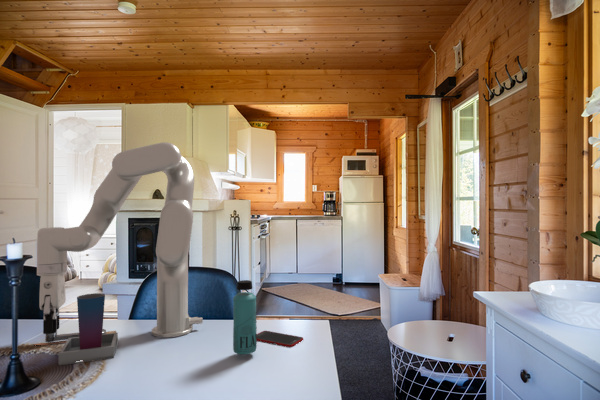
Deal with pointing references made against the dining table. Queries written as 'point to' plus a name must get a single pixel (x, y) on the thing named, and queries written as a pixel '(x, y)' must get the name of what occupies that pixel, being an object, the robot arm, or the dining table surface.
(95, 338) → the cup
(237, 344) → the beverage bottle
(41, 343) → the crank base
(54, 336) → the crank
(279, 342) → the cell phone
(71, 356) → the tray
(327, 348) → the dining table surface
